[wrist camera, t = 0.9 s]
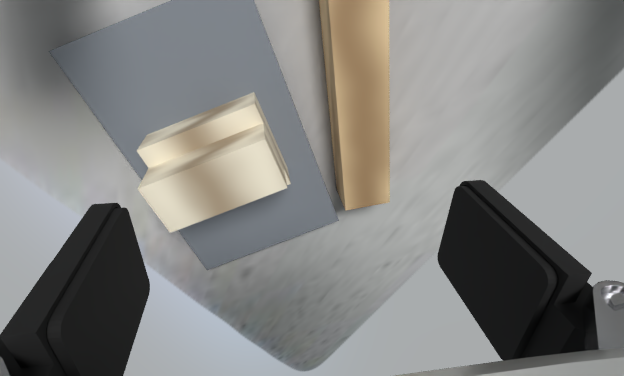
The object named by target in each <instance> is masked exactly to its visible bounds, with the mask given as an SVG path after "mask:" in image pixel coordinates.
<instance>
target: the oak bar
mask: <svg viewBox="0 0 624 376" xmlns="http://www.w3.org/2000/svg"><path fill="white" fill-rule="evenodd" d="M319 8H320V19H321V29H322V40H323V50H324V61H325V71H326V82H327V93H328V103H329V114H330V124H331V135H332V145H333V156H334V167H335V177H336V188H337V191H338V194H339V196H340V198H341V201H342V203H343V205H344V208H345V210H351V209H356V208H362V207H367V206H372V205H377V204H383V203H388V202H390V169H389V0H319Z"/></svg>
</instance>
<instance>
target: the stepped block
mask: <svg viewBox="0 0 624 376" xmlns="http://www.w3.org/2000/svg"><path fill="white" fill-rule="evenodd" d="M137 152H138V154H139V155H140V157H141V158H142V159H143V161H144V162H145V164H146V165H147V167H148V170H147V172H146V174H145V176H144V178H143V180H142V182H141V183H140V185H139V187H138V190H139V192H140V193H141V194H142V196H143V197H144V198H145V200H146V201H147V202H148V204H149V205H150V206H151V208H152V209H153V210H154V212H155V213H156V214H157V216H158V217H159V219H160V220H161V221H162V223H163V224H164V225H165V227H166V228H167V229H168V231H169V232H170V233H172V232H174V231H177V230H179V229H182V228H185V227H187V226H190V225H192V224H195V223H198V222H200V221H203V220H205V219H208V218H211V217H213V216H216V215H218V214H221V213H224V212H226V211H229V210H231V209H234V208H237V207H239V206H242V205H245V204H247V203H250V202H252V201H255V200H258V199H260V198H263V197H265V196H268V195H271V194H273V193H276V192H278V191H281V190H284V189H286V188H287V185H289V184H291V183H290V178H289V173H288V168H287V165H286V163H285V161H284V158H283V156H282V154H281V152H280V149H279V147H278V145H277V143H276V140H275V138H274V136H273V134H272V131H271V129H270V127H269V125H268V122H267V120H266V118H265V115H264V113H263V111H262V109H261V106H260V104H259V102H258V100H257V97H256V95H255V93H254V92H253V93H251V94H248V95H246V96H243V97H240V98H238V99H235V100H233V101H230V102H228V103H225V104H223V105H220V106H218V107H215V108H213V109H210V110H208V111H205V112H203V113H200V114H198V115H195V116H193V117H190V118H188V119H185V120H183V121H180V122H178V123H175V124H173V125H170V126H168V127H165V128H163V129H160V130H158V131H155V132H153V133H150V134H148V135H146V137H145V138H144V140H143V142H142V143H141V145H140V146H139V148H138V149H137Z"/></svg>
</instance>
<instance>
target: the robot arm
mask: <svg viewBox="0 0 624 376" xmlns="http://www.w3.org/2000/svg"><path fill="white" fill-rule="evenodd" d="M438 262H439V265H440V267H441V269H442V270H443V271H444V273H445V275H446V276H447V278H448V279H449V281H450V282H451V284H452V285H453V287H454V288H455V290H456V291H457V293H458V294H459V296H460V297H461V299H462V300H463V302H464V303H465V305H466V306H467V308H468V309H469V311H470V312H471V314H472V315H473V317H474V318H475V320H476V321H477V323H478V324H479V326H480V328H481V329H482V331H483V332H484V333H485V335H486V337H487V338H488V339H489V341H490V343H491V344H492V346H493V347H494V349H495V350H496V352H497V353H498V355H499V356H500V358H501V359H502V360H503V361H498V362H491V363H483V364H476V365H469V366H461V367H454V368H446V369H439V370H432V371H424V372H418V373H410V374H403V375H396V376H624V283H622V282H618V281H607V280H606V281H601V282H598V283H597V284H595V285H594V287H592V286H591V285H590V284H588V283H587V281H588V279H589V277H590V276H591V274H592V273H591V272H590V271H589V270H587V269H586V268H585V267H584V266H583V265H582V264H580V263H579V262H578V261H577V260H576V259H575V258H573V257H572V256H571V255H570V254H569V253H568V252H567V251H565V250H564V249H563V248H562V247H561V246H560V245H558V244H557V243H556V242H555V241H554V240H552V238H550V237H549V236H548V235H547V234H546V233H545V232H543V231H542V230H541V229H540V228H539V227H538V226H536V225H535V224H534V223H533V222H532V221H530V220H529V219H528V218H527V217H526V216H525V215H524V214H522V213H521V212H520V211H519V210H518V209H516V208H515V207H514V206H513V205H512V204H511V203H510V202H509V201H507V200H506V199H505V198H504V197H503V196H501V195H500V194H499V193H498V192H497V191H496V190H495V189H493V188H492V187H491V186H490V185H489V184H488V183H486V182H485V181H483V180H476V181H464V182H462V183H461V184H460V186H458V187H456V189H455V191H454V194H453V198H452V202H451V206H450V210H449V214H448V217H447V221H446V225H445V229H444V233H443V236H442V240H441V244H440V248H439V252H438ZM149 290H150V284H149V279H148V276H147V272H146V269H145V266H144V262H143V259H142V255H141V252H140V249H139V245H138V242H137V239H136V235H135V232H134V228H133V225H132V222H131V218H130V215H129V212H128V210H127V208H121V207H120V205H119V204H118V203H106V204H93V205H92V206H91V207H90V208H89V209H88V211H87V212H86V214H85V215H84V217H83V218H82V219H81V221H80V222H79V224H78V225H77V227H76V228H75V229H74V231H73V232H72V234H71V235H70V237H69V238H68V239H67V241H66V242H65V244H64V245H63V247H62V248H61V250H60V251H59V252H58V254H57V255H56V257H55V258H54V260H53V261H52V262H51V263H50V264H49V266H48V267H47V269H46V270H45V272H44V273H43V274H42V276H41V277H40V279H39V280H38V282H37V283H36V284H35V286H34V287H33V289H32V290H31V292H30V293H29V294H28V296H27V297H26V299H25V300H24V302H23V303H22V304H21V306H20V307H19V309H18V310H17V312H16V313H15V315H14V316H13V317H12V319H11V320H10V322H9V323H8V324H7V326H6V327H5V329H4V330H3V332H2V333H1V334H0V376H123V374H124V371H125V368H126V365H127V362H128V358H129V355H130V351H131V349H132V345H133V342H134V339H135V336H136V333H137V330H138V327H139V324H140V320H141V317H142V314H143V311H144V308H145V305H146V302H147V299H148V296H149Z"/></svg>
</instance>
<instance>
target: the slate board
mask: <svg viewBox="0 0 624 376" xmlns="http://www.w3.org/2000/svg"><path fill="white" fill-rule="evenodd" d="M49 52H50V54H51V55H52V57H53V58H54V59H55V61H56V62H57V63H58V65H59V66H60V68H61V69H62V70H63V72H64V73H65V74H66V76H67V77H68V79H69V80H70V81H71V83H72V84H73V86H74V87H75V88H76V90H77V91H78V92H79V94H80V95H81V97H82V98H83V99H84V101H85V102H86V104H87V105H88V106H89V108H90V109H91V110H92V112H93V113H94V115H95V116H96V117H97V119H98V120H99V121H100V123H101V124H102V126H103V127H104V128H105V130H106V131H107V133H108V134H109V135H110V137H111V138H112V139H113V141H114V142H115V144H116V145H117V146H118V148H119V149H120V150H121V152H122V153H123V155H124V156H125V157H126V159H127V160H128V162H129V163H130V164H131V166H132V167H133V168H134V170H135V171H136V173H137V174H138V175H139V177H140V178H141V179H142V180H143V178H144V176H145V174H146V172H147V170H148V167H147V165H146V164H145V162H144V161H143V159H142V158H141V157H140V155H139V154H138V152H137V149H138V148H139V146H140V145H141V143H142V142H143V140H144V138H145V137H146V135H148V134H150V133H153V132H155V131H158V130H160V129H163V128H165V127H168V126H170V125H173V124H175V123H178V122H180V121H183V120H185V119H188V118H190V117H193V116H195V115H198V114H200V113H203V112H205V111H208V110H210V109H213V108H215V107H218V106H220V105H223V104H225V103H228V102H230V101H233V100H235V99H238V98H240V97H243V96H246V95H248V94H251V93H253V92H254V93H255V95H256V97H257V100H258V102H259V104H260V106H261V109H262V111H263V113H264V115H265V118H266V120H267V122H268V125H269V127H270V129H271V131H272V134H273V136H274V138H275V140H276V143H277V145H278V147H279V149H280V152H281V154H282V156H283V158H284V161H285V163H286V165H287V168H288V173H289V178H290V183H291V184H289V185H287V188H286V189H284V190H281V191H278V192H276V193H273V194H271V195H268V196H265V197H263V198H260V199H258V200H255V201H252V202H250V203H247V204H245V205H242V206H239V207H237V208H234V209H231V210H229V211H226V212H224V213H221V214H218V215H216V216H213V217H211V218H208V219H205V220H203V221H200V222H198V223H195V224H192V225H190V226H187V227H185V228H182V229H179V230H178V231H179V232H180V233H181V235H182V236H183V237H184V239H185V240H186V242H187V243H188V244H189V246H190V247H191V249H192V250H193V251H194V253H195V254H196V255H197V257H198V258H199V260H200V261H201V262H202V264H203V265H204V266H205V268H206V269H207V270H209V269H211V268H214V267H217V266H219V265H222V264H225V263H227V262H230V261H233V260H235V259H238V258H241V257H243V256H246V255H248V254H251V253H254V252H256V251H259V250H262V249H264V248H267V247H270V246H272V245H275V244H278V243H280V242H283V241H286V240H288V239H291V238H294V237H296V236H299V235H301V234H304V233H307V232H309V231H312V230H315V229H317V228H320V227H323V226H325V225H328V224H331V223H333V222H336V221H339V220H338V217H337V214H336V212H335V209H334V206H333V204H332V201H331V199H330V196H329V194H328V191H327V188H326V186H325V183H324V181H323V178H322V175H321V173H320V170H319V168H318V165H317V163H316V160H315V157H314V155H313V152H312V150H311V147H310V144H309V142H308V139H307V137H306V134H305V131H304V129H303V126H302V124H301V121H300V119H299V116H298V113H297V111H296V108H295V106H294V103H293V100H292V98H291V95H290V93H289V90H288V88H287V85H286V82H285V80H284V77H283V75H282V72H281V69H280V67H279V64H278V62H277V59H276V57H275V54H274V51H273V49H272V46H271V44H270V41H269V38H268V36H267V33H266V31H265V28H264V26H263V23H262V20H261V18H260V15H259V13H258V10H257V7H256V5H255V2H254V0H171V1H169V2H166V3H164V4H161V5H159V6H157V7H154V8H152V9H149V10H147V11H145V12H142V13H140V14H137V15H135V16H133V17H130V18H128V19H125V20H123V21H121V22H118V23H116V24H113V25H111V26H108V27H106V28H104V29H101V30H99V31H96V32H94V33H92V34H89V35H87V36H84V37H82V38H80V39H77V40H75V41H72V42H70V43H68V44H65V45H63V46H60V47H58V48H56V49H53V50H51V51H49Z"/></svg>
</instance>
